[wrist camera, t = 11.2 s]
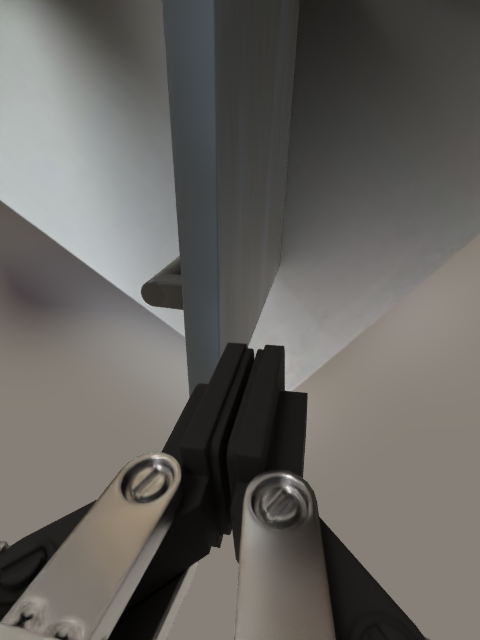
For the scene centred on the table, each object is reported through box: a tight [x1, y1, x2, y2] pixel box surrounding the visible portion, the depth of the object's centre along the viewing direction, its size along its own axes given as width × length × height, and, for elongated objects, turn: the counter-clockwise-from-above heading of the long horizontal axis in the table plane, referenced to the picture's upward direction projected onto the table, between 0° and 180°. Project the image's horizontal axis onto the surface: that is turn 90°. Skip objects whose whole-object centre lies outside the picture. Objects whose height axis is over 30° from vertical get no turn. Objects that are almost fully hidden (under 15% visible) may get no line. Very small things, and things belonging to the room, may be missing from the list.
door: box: [141, 0, 300, 396], centre depth 22 cm, size 8×26×24 cm, turn 179°
